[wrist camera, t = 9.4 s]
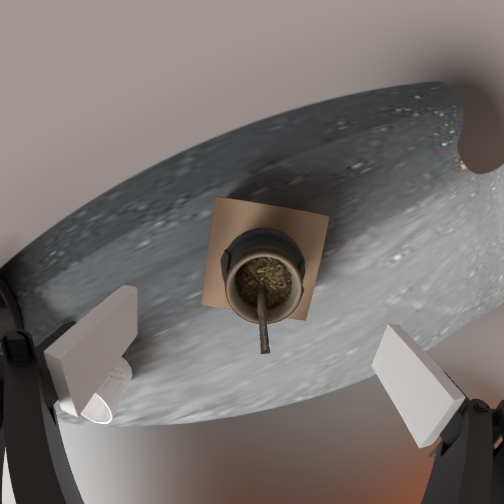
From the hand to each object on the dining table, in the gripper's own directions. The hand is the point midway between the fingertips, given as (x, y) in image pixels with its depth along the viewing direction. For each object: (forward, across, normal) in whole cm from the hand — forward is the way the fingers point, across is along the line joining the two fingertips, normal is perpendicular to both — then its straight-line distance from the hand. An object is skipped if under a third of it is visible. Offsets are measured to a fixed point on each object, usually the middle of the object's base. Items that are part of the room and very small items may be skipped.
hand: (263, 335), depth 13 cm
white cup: (+20, -20, -23) cm, 36 cm away
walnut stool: (+20, 0, 0) cm, 20 cm away
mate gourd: (+14, 0, 0) cm, 14 cm away
